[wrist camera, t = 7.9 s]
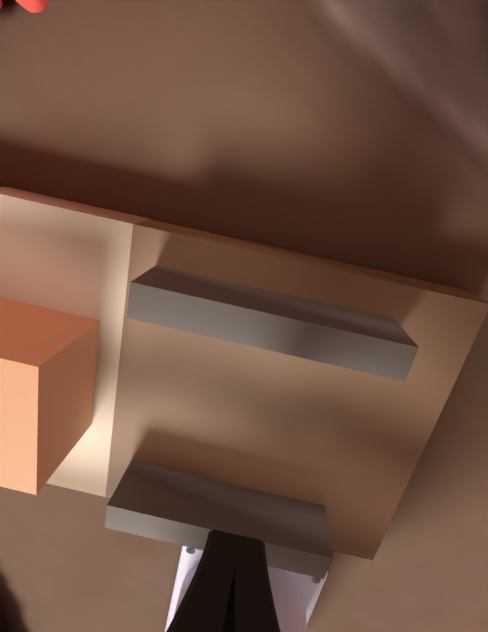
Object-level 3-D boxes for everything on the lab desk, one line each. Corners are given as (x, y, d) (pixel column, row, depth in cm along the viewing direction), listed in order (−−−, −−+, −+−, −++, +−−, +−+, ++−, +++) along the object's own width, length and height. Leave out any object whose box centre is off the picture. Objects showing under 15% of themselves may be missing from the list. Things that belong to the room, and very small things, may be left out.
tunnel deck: (363, 523, 20) (386, 617, 15) (-152, 403, 20) (-267, 461, 16) (464, 289, 15) (536, 330, 11) (-202, 139, 15) (-383, 123, 11)
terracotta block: (91, 424, 16) (36, 495, 13) (-18, 398, 17) (-105, 461, 13) (99, 320, 15) (38, 367, 11) (-23, 292, 15) (-125, 329, 11)
